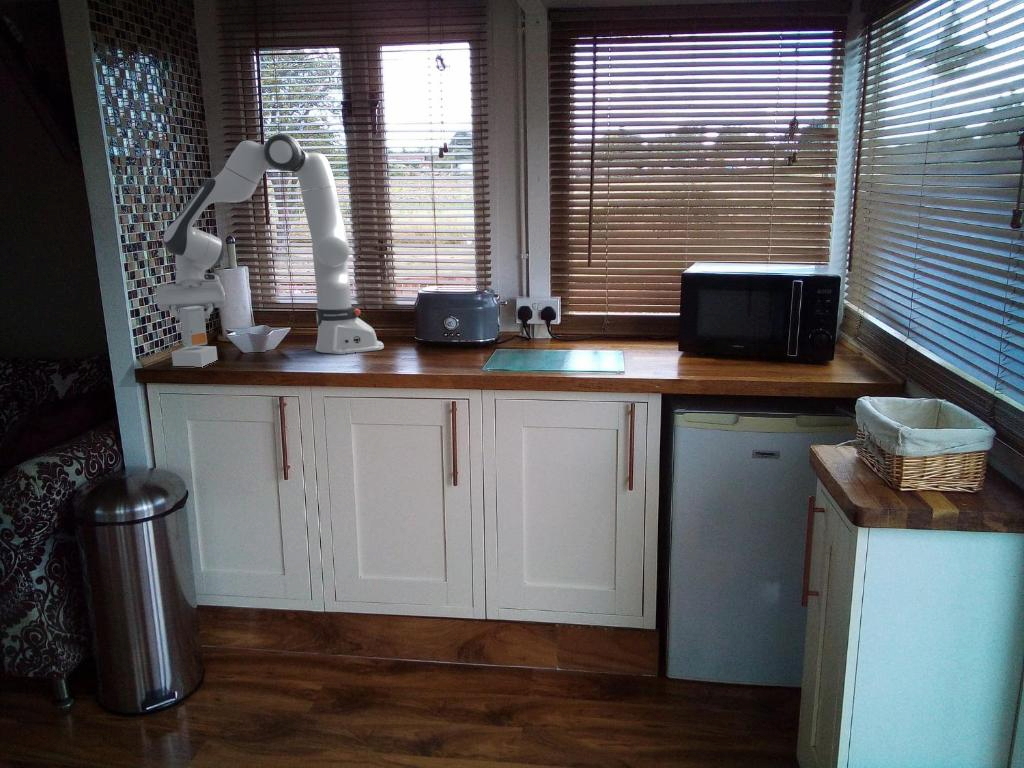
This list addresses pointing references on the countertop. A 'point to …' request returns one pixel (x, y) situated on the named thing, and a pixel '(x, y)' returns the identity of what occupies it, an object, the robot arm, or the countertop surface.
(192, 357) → the grey block
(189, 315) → the skincare box
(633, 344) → the countertop surface
